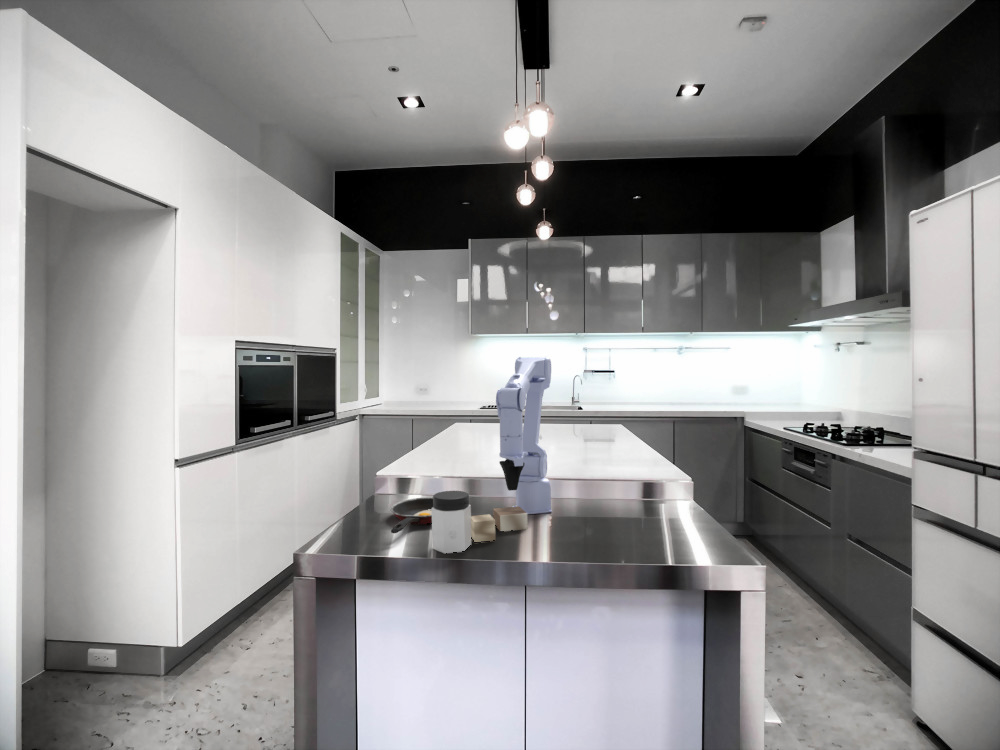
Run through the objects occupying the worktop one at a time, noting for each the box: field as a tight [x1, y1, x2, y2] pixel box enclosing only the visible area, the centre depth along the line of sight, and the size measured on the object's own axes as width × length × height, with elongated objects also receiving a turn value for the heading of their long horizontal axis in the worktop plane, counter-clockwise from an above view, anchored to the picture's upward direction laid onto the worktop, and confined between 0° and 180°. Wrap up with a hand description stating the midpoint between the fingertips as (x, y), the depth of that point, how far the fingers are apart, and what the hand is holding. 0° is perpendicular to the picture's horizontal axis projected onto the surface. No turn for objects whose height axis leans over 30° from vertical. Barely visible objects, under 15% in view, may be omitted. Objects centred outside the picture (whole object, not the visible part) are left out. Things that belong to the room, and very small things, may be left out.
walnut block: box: [492, 505, 529, 532], centre depth 136 cm, size 7×4×7 cm
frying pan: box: [389, 496, 433, 534], centre depth 139 cm, size 19×32×4 cm, turn 169°
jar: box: [431, 490, 472, 554], centre depth 121 cm, size 9×8×12 cm
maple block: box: [471, 514, 496, 543], centre depth 127 cm, size 5×5×5 cm
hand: (512, 489), depth 133 cm, fingers closed
